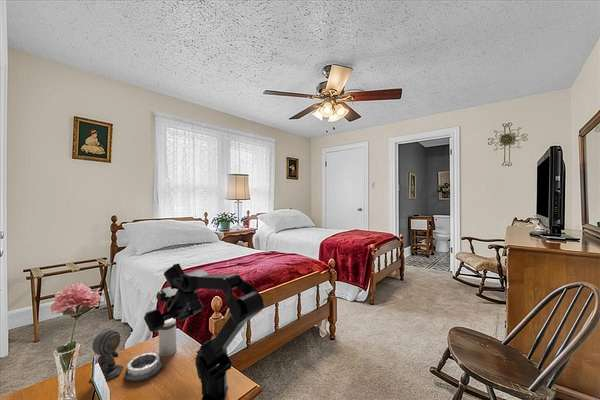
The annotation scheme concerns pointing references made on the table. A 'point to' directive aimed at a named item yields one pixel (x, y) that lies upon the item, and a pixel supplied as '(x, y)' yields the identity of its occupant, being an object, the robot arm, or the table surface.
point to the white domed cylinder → (167, 338)
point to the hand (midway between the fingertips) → (167, 325)
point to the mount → (143, 367)
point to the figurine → (107, 353)
